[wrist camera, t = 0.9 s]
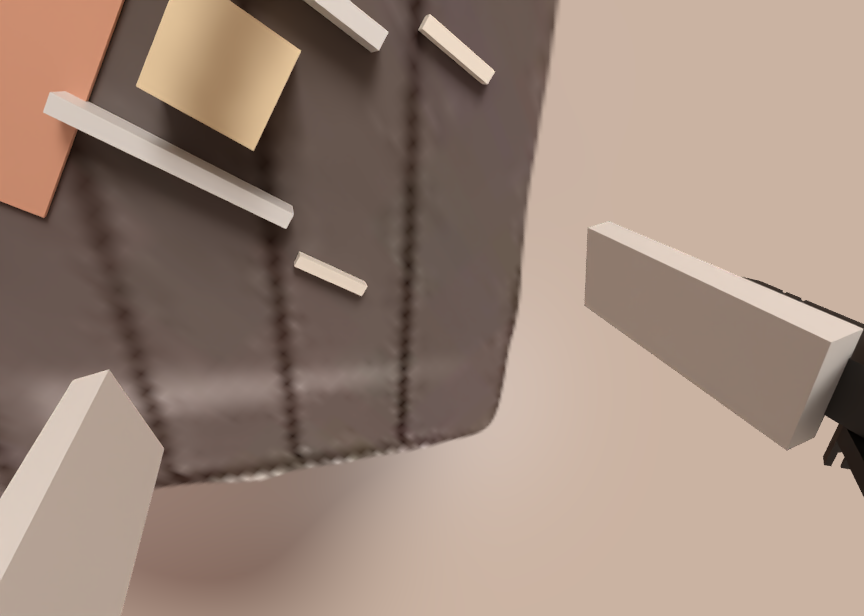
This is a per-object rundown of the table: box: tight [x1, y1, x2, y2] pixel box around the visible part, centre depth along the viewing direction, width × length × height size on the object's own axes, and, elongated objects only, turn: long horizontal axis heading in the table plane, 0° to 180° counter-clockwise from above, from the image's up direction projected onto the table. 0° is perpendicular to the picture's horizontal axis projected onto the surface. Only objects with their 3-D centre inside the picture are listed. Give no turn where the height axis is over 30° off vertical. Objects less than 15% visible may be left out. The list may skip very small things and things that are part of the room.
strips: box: [294, 14, 495, 296], centre depth 33 cm, size 6×20×1 cm, turn 146°
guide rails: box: [43, 0, 388, 229], centre depth 26 cm, size 14×14×2 cm
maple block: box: [136, 0, 301, 151], centre depth 25 cm, size 6×6×6 cm
